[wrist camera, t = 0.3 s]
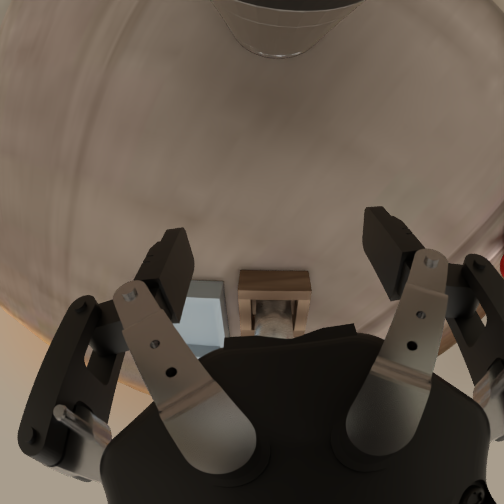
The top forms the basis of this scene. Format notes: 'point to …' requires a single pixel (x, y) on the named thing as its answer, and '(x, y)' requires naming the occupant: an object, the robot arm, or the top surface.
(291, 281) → the square wooden frame
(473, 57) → the top surface
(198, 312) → the tray
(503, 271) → the ceramic cup
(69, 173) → the top surface
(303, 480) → the robot arm
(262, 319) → the glass jar
